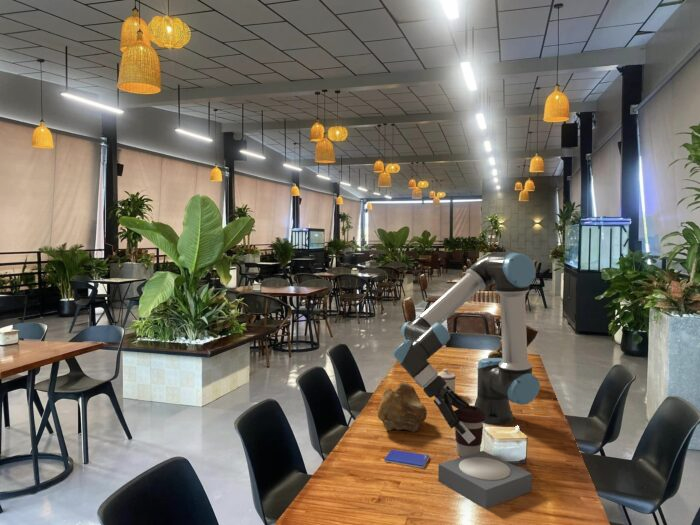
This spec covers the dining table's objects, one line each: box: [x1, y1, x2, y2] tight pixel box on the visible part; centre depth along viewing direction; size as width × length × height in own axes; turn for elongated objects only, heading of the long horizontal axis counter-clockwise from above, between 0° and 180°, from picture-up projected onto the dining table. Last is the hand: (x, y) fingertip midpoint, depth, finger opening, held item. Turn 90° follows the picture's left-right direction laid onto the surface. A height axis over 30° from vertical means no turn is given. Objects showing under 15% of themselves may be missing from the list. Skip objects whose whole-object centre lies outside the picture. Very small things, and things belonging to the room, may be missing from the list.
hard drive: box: [383, 449, 430, 469], centre depth 165 cm, size 2×8×12 cm
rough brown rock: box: [377, 381, 428, 433], centre depth 193 cm, size 23×17×15 cm
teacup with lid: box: [437, 368, 457, 393], centre depth 232 cm, size 12×9×12 cm
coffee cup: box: [454, 404, 485, 457], centre depth 169 cm, size 10×10×15 cm
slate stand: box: [437, 450, 533, 509], centre depth 148 cm, size 18×18×5 cm
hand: (475, 433), depth 168 cm, fingers open, 13 cm apart
